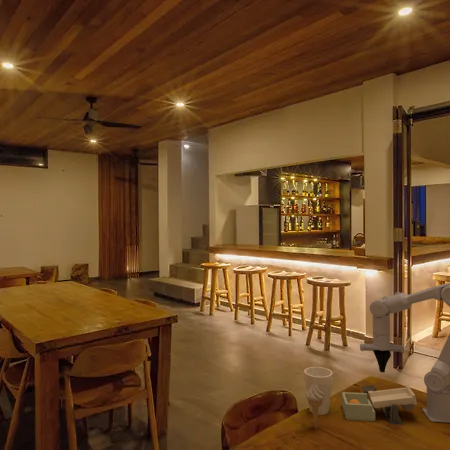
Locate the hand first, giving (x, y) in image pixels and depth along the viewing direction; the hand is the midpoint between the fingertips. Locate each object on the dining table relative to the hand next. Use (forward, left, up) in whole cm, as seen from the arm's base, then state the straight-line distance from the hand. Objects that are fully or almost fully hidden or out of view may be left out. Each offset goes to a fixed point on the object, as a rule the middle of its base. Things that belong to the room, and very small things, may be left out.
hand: (382, 371), depth 140 cm
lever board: (0, +8, -7) cm, 11 cm away
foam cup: (+23, +11, -10) cm, 27 cm away
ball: (+12, +12, -7) cm, 18 cm away
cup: (+11, +12, -10) cm, 19 cm away
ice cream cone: (+25, +23, -10) cm, 35 cm away
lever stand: (0, +12, -10) cm, 16 cm away
